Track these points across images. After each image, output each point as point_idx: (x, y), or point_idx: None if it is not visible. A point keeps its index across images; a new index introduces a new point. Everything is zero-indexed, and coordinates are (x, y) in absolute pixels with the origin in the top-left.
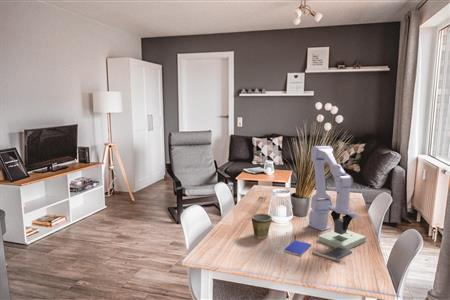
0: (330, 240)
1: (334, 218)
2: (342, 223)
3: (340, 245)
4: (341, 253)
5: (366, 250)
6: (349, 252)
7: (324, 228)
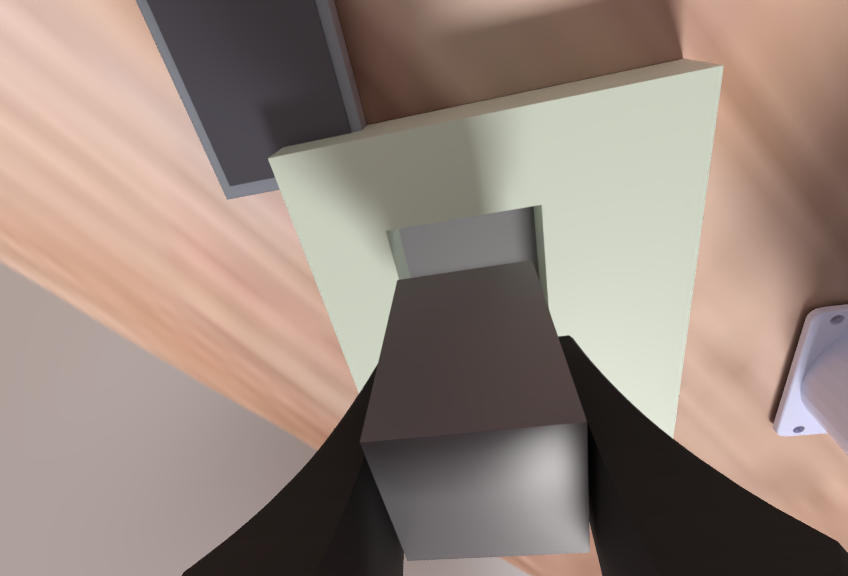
0: (483, 116)
1: (627, 465)
2: (368, 431)
3: (321, 144)
4: (173, 11)
5: (256, 344)
6: (208, 152)
7: (815, 363)
